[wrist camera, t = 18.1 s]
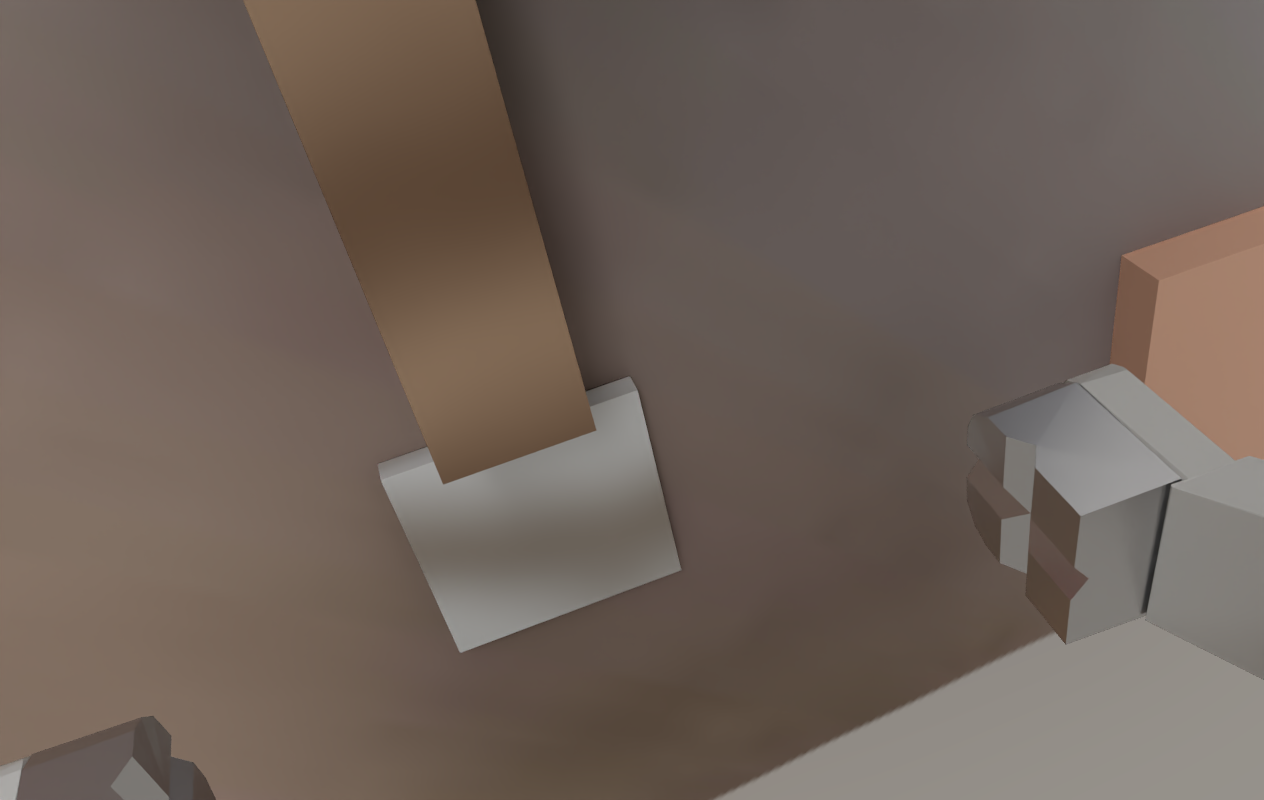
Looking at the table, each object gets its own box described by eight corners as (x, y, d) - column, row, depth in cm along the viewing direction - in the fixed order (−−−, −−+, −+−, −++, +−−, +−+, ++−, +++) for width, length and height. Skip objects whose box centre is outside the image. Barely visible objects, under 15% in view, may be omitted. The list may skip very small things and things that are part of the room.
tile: (1435, 183, 27) (1353, 448, 33) (1374, 157, 29) (1307, 415, 34) (1158, 280, 26) (1122, 537, 32) (1111, 248, 27) (1084, 500, 33)
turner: (85, -177, 16) (48, -137, 13) (468, -279, 17) (524, -264, 14) (456, 635, 28) (485, 761, 24) (674, 555, 28) (729, 667, 25)
